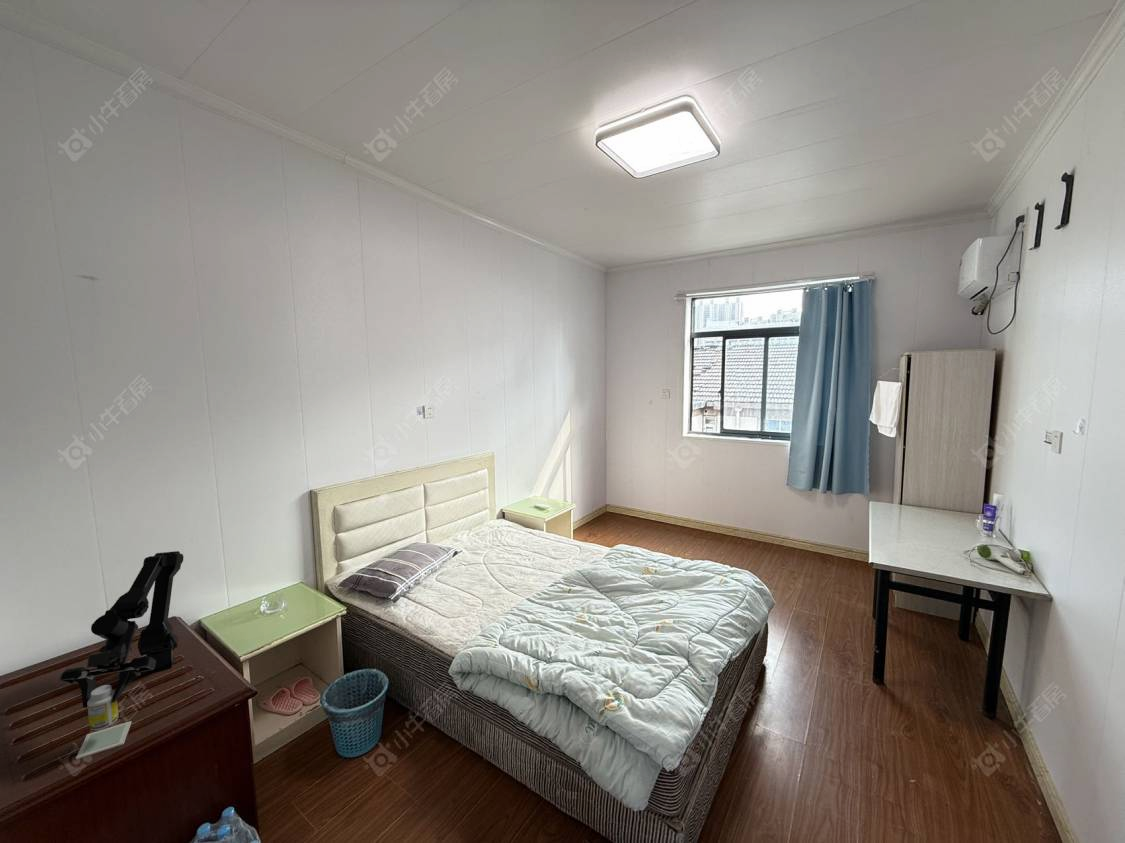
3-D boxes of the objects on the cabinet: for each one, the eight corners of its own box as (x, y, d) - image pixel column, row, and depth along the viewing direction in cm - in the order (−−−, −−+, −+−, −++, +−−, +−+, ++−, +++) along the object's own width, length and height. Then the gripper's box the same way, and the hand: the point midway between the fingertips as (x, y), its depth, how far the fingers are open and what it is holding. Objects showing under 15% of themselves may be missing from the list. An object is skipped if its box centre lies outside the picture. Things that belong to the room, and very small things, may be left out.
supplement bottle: (112, 712, 124) (109, 680, 123) (122, 719, 122) (119, 686, 121) (85, 727, 119) (82, 693, 118) (95, 734, 117) (92, 700, 116)
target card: (131, 722, 127) (131, 720, 127) (123, 744, 120) (123, 742, 120) (87, 735, 122) (87, 734, 122) (75, 759, 115) (75, 758, 115)
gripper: (59, 643, 118) (34, 710, 109) (148, 630, 125) (130, 692, 116) (81, 652, 126) (58, 715, 117) (163, 639, 133) (147, 698, 124)
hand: (99, 704), depth 119 cm, fingers closed on supplement bottle, 5 cm apart
